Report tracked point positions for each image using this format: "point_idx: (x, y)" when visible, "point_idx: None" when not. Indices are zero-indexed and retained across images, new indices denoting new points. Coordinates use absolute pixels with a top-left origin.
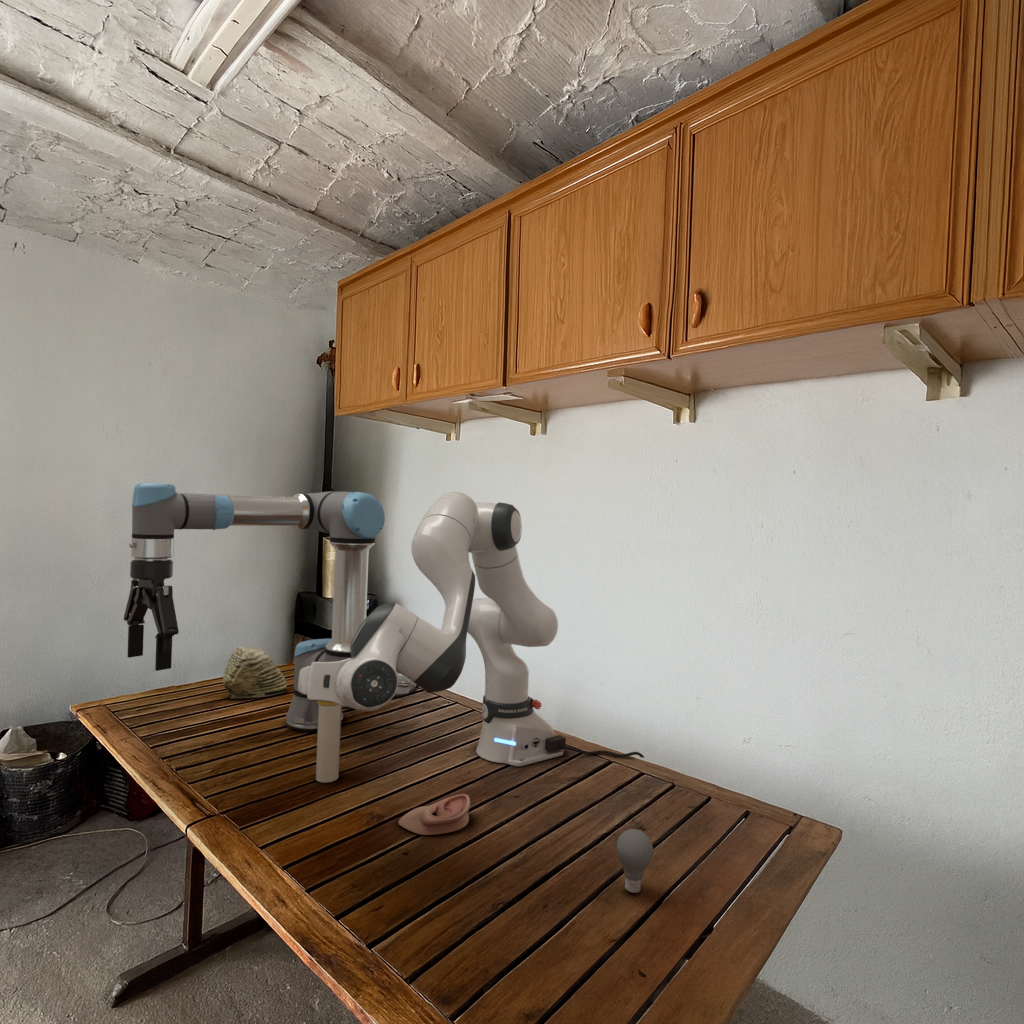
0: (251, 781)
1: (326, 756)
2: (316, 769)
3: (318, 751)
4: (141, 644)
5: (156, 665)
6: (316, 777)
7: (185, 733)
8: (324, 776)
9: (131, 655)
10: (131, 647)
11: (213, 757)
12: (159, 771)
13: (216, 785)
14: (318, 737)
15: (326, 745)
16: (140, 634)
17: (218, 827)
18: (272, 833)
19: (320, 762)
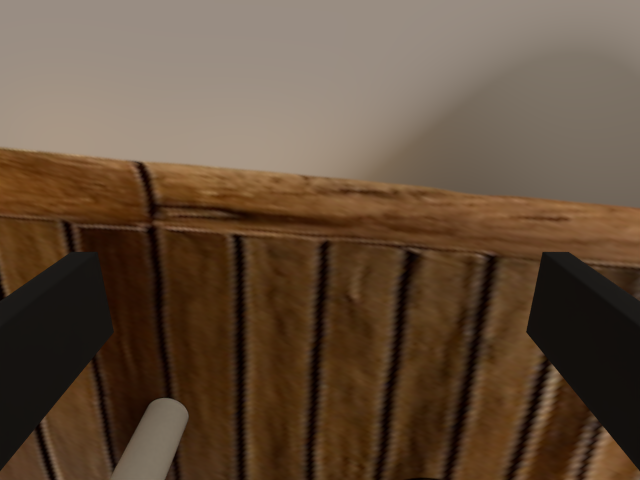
0: (246, 324)
1: (129, 443)
2: (165, 413)
3: (144, 443)
4: (571, 373)
5: (57, 266)
6: (168, 402)
7: None
8: (147, 410)
9: (546, 273)
10: (580, 300)
11: (411, 327)
12: (430, 224)
13: (276, 273)
14: (133, 470)
15: (119, 462)
16: (635, 432)
17: (97, 198)
18: (17, 253)
19: (145, 427)
